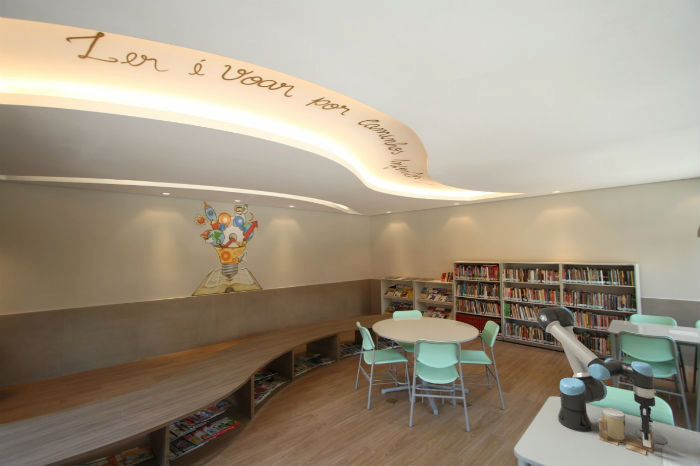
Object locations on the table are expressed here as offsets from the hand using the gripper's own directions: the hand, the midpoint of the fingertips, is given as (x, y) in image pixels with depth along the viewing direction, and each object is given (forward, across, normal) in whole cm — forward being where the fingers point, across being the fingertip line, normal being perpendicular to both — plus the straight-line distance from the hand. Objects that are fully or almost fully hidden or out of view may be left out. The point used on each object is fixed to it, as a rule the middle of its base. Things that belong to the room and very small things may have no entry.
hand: (647, 440), depth 148 cm
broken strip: (+3, -7, +8) cm, 11 cm away
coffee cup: (+3, 0, +12) cm, 13 cm away
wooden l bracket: (+3, 0, +8) cm, 9 cm away
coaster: (+3, +12, 0) cm, 13 cm away
